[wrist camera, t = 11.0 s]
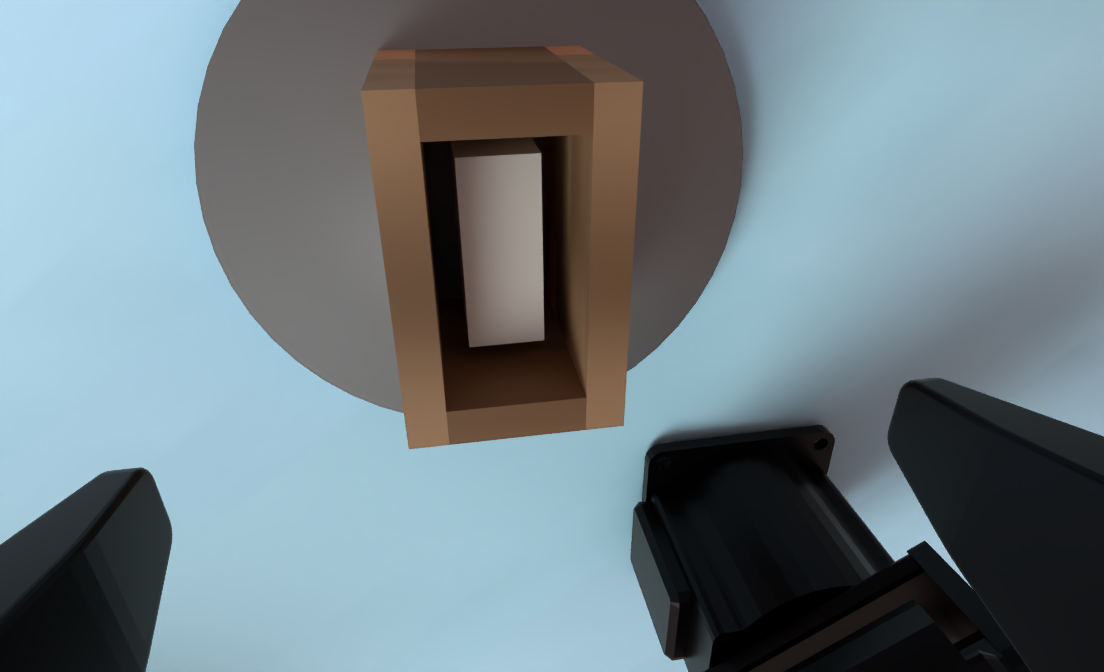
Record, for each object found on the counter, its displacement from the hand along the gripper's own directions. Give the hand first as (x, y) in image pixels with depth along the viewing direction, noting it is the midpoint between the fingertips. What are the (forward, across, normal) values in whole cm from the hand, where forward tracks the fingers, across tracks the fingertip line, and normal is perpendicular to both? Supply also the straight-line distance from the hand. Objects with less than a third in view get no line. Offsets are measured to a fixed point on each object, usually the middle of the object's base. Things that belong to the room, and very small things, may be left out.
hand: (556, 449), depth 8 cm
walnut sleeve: (+10, 0, 0) cm, 10 cm away
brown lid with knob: (+11, 0, 0) cm, 11 cm away
